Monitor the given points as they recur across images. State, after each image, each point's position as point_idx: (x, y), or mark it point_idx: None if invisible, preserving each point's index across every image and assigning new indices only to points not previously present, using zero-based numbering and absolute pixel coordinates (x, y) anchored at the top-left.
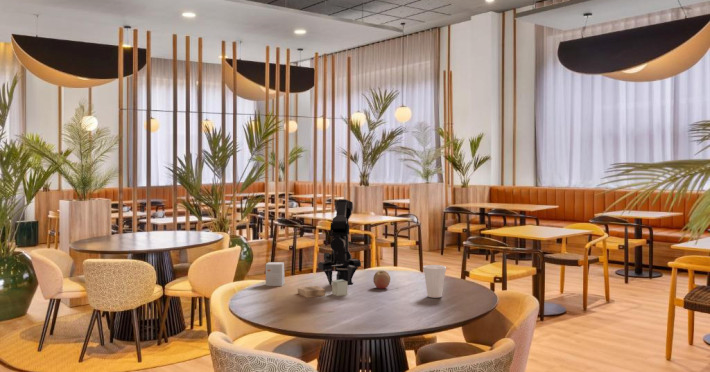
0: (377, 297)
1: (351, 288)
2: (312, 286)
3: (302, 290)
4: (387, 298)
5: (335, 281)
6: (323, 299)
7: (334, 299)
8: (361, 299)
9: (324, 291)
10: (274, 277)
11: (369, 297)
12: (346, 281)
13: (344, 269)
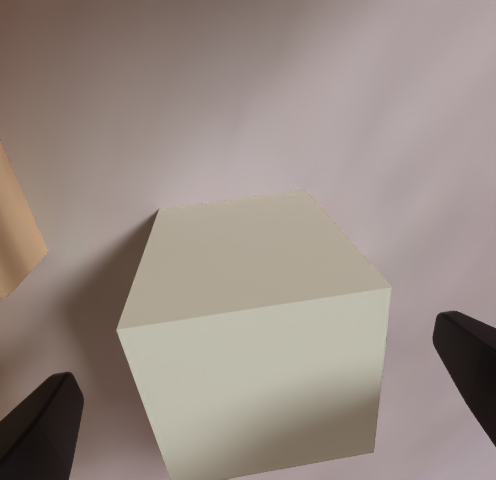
0: (461, 438)
1: None
2: None
3: None
4: (491, 469)
5: (166, 420)
6: (8, 407)
7: (118, 426)
8: (327, 462)
9: (13, 280)
10: None
11: (415, 428)
12: (354, 455)
13: None
